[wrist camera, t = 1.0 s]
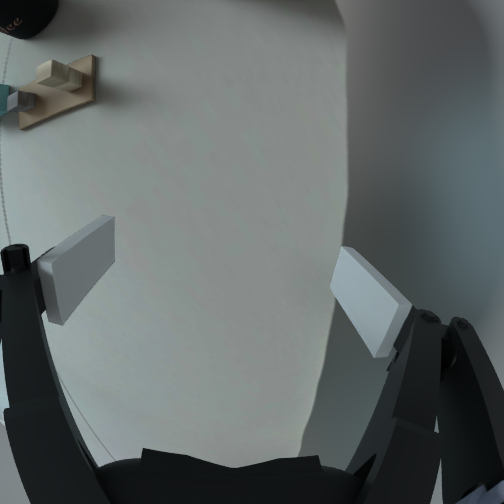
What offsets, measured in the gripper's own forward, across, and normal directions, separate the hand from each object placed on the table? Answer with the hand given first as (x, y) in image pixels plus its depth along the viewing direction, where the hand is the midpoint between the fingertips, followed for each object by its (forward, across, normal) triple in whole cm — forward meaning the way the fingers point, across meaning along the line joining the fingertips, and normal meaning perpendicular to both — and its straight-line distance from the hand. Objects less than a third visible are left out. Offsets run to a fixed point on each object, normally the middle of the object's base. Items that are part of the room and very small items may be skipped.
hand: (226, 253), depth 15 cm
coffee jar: (+26, -42, +31) cm, 59 cm away
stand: (+26, -31, +14) cm, 43 cm away
